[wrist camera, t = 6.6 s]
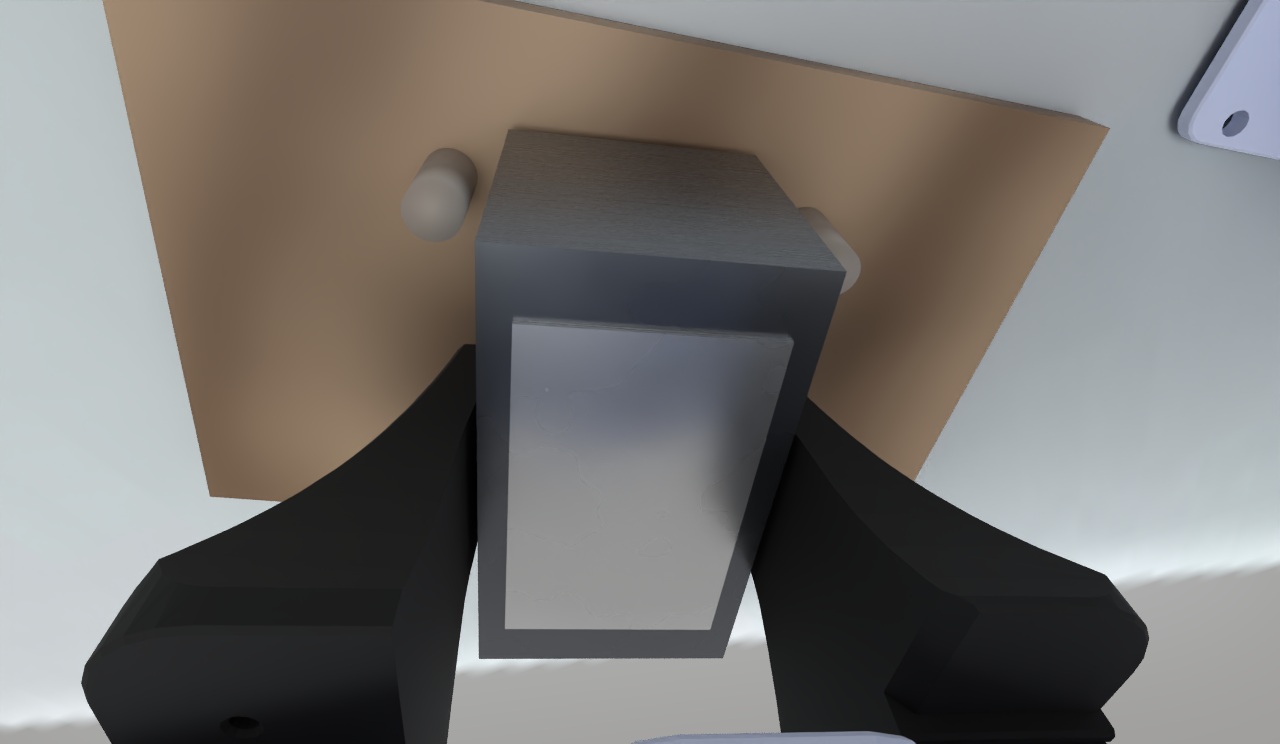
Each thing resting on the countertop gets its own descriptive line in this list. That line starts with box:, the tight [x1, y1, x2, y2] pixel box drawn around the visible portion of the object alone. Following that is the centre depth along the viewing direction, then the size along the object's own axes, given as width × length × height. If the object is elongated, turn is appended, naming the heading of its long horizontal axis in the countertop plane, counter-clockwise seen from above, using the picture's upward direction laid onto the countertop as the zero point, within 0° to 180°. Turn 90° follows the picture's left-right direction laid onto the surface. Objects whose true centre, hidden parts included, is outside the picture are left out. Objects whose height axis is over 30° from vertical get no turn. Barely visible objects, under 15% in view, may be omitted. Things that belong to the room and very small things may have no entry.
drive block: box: [475, 129, 847, 659], centre depth 12 cm, size 4×8×5 cm, turn 173°
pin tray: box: [103, 0, 1110, 502], centre depth 14 cm, size 18×12×3 cm, turn 79°
